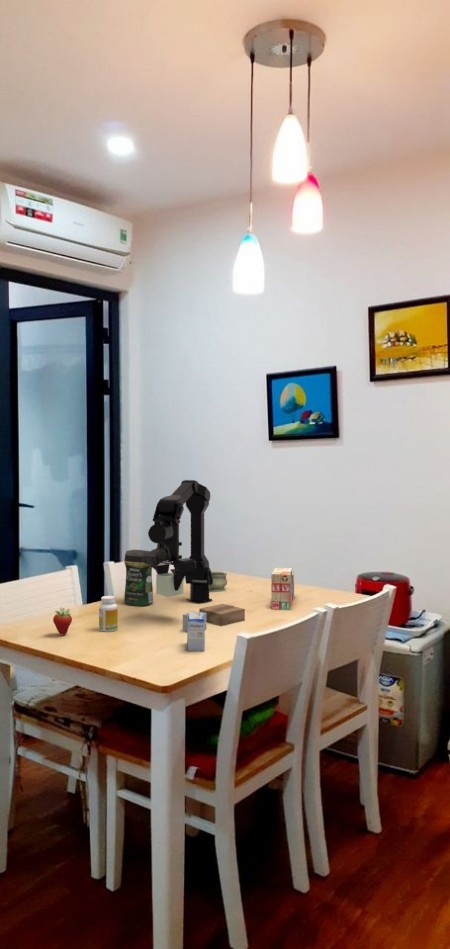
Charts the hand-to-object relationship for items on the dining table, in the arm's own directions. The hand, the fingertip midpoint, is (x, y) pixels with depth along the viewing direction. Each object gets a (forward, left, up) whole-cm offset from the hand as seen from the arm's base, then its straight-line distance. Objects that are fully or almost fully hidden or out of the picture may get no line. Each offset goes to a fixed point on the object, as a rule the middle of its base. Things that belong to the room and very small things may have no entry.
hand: (169, 588), depth 220 cm
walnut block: (+12, +11, -10) cm, 19 cm away
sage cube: (0, 0, -2) cm, 2 cm away
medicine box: (+28, -14, -10) cm, 33 cm away
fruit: (-7, -34, -10) cm, 36 cm away
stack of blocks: (+9, +43, -10) cm, 45 cm away
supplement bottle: (-3, -21, -10) cm, 23 cm away
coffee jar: (-24, +6, -10) cm, 27 cm away
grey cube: (+15, -3, -10) cm, 18 cm away
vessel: (-23, +41, -10) cm, 48 cm away
